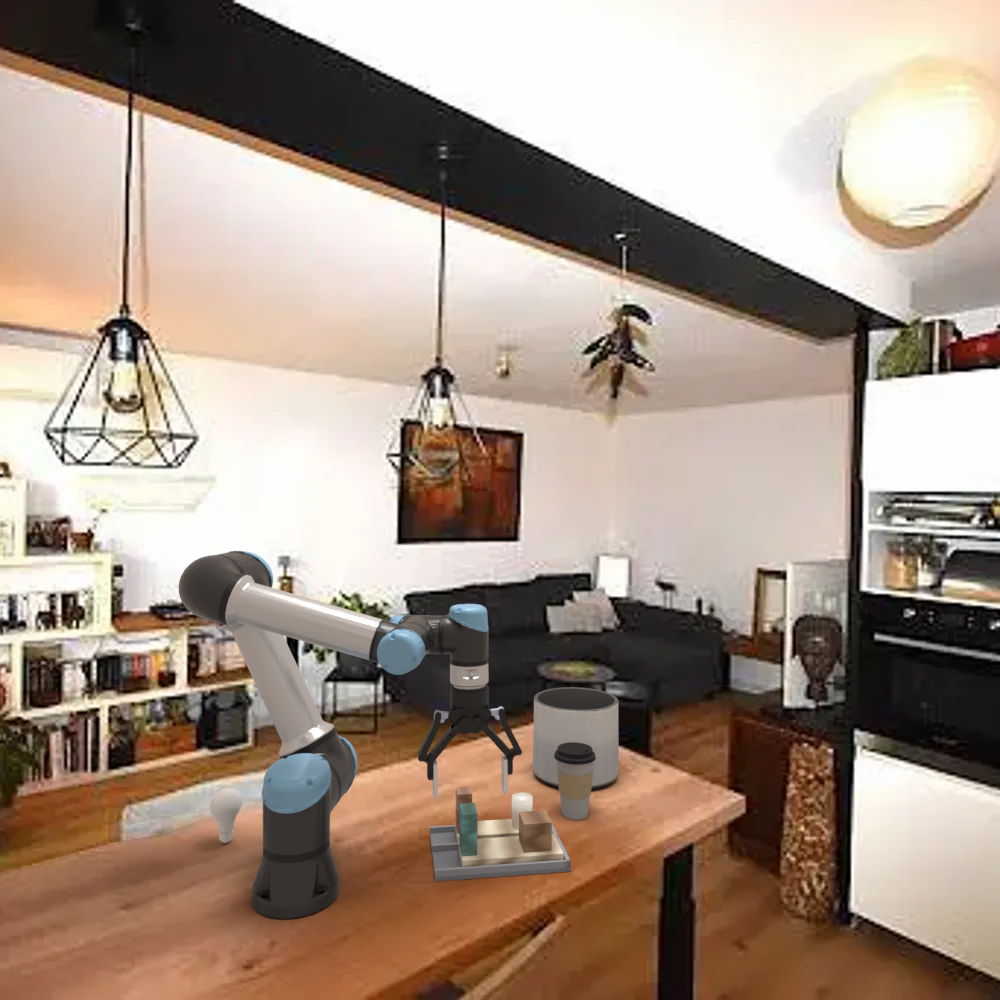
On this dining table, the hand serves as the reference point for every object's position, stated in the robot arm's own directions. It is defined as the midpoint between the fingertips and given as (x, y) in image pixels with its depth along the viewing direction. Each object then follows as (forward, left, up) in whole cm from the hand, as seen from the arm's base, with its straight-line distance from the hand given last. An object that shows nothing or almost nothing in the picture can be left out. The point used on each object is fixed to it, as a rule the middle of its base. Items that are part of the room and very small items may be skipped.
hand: (470, 793), depth 139 cm
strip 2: (+8, 0, -14) cm, 16 cm away
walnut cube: (+13, 0, -11) cm, 17 cm away
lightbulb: (-49, +16, -14) cm, 53 cm away
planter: (+32, +41, -14) cm, 54 cm away
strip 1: (+8, +9, -13) cm, 18 cm away
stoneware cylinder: (+12, +9, -11) cm, 18 cm away
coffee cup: (+26, +19, -14) cm, 35 cm away
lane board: (+6, +4, -14) cm, 16 cm away
